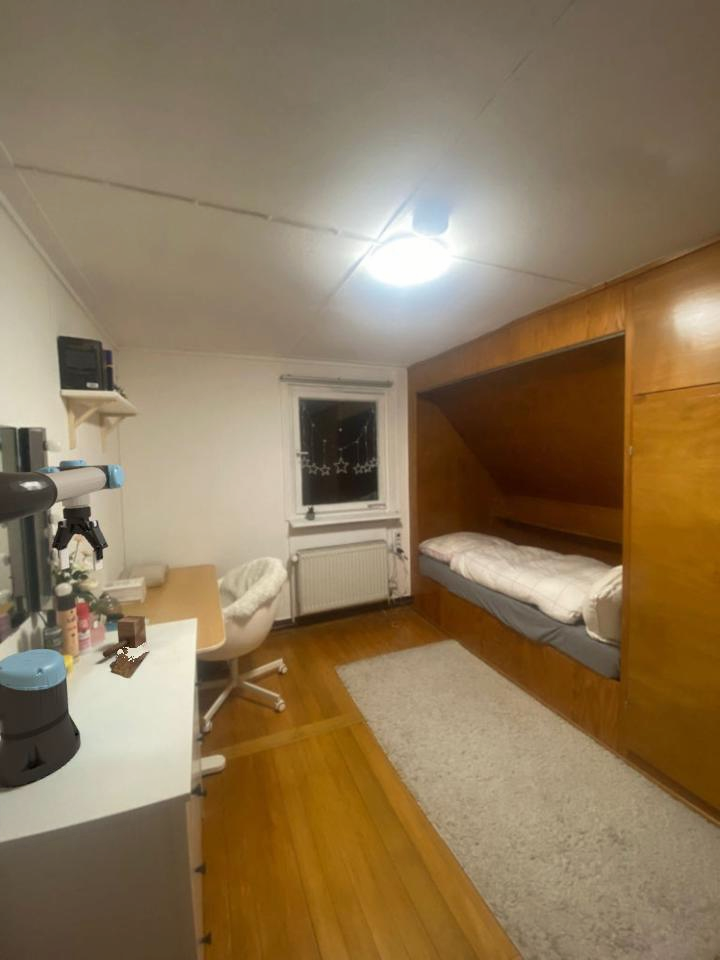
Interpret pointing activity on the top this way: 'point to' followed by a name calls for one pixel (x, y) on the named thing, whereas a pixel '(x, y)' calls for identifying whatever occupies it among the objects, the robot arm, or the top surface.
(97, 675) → the top surface
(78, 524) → the robot arm
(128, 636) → the marking gauge
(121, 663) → the wooden fragment
